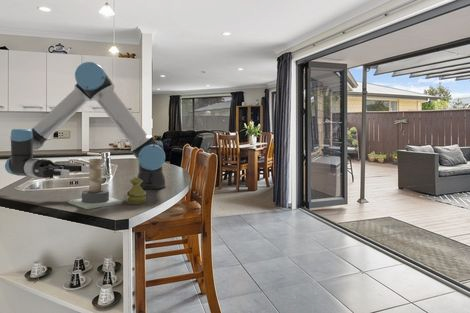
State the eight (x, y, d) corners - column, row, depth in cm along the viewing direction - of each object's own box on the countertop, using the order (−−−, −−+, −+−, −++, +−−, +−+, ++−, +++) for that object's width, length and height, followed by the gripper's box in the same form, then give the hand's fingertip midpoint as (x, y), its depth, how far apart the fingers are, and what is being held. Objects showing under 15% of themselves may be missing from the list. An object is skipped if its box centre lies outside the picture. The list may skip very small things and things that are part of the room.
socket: (103, 197, 133) (103, 187, 132) (122, 203, 124) (122, 191, 124) (68, 203, 122) (68, 191, 121) (86, 209, 113) (86, 196, 113)
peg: (97, 198, 126) (97, 158, 124) (103, 200, 123) (103, 159, 122) (87, 200, 123) (87, 159, 121) (92, 202, 120) (92, 160, 118)
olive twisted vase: (140, 199, 131) (140, 175, 130) (149, 203, 126) (149, 178, 125) (122, 202, 126) (123, 177, 125) (131, 205, 121) (131, 179, 120)
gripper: (65, 173, 142) (104, 177, 136) (10, 181, 118) (55, 186, 112) (64, 157, 141) (104, 159, 135) (10, 161, 118) (55, 165, 111)
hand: (82, 171), depth 124 cm, fingers open, 13 cm apart
